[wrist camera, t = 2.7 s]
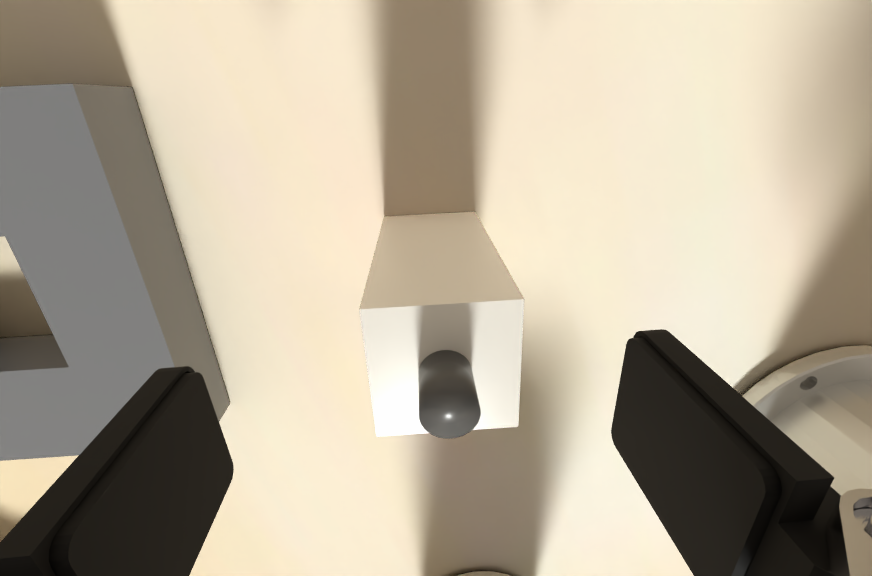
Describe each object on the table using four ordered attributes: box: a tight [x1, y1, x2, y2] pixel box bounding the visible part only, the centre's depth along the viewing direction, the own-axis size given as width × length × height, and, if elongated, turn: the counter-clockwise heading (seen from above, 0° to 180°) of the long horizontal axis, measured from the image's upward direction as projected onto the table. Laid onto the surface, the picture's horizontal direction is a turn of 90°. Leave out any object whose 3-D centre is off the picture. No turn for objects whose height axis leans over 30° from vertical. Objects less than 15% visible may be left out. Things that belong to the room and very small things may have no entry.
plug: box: [359, 211, 524, 438], centre depth 14 cm, size 4×4×11 cm
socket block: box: [0, 84, 230, 461], centre depth 17 cm, size 14×15×3 cm
